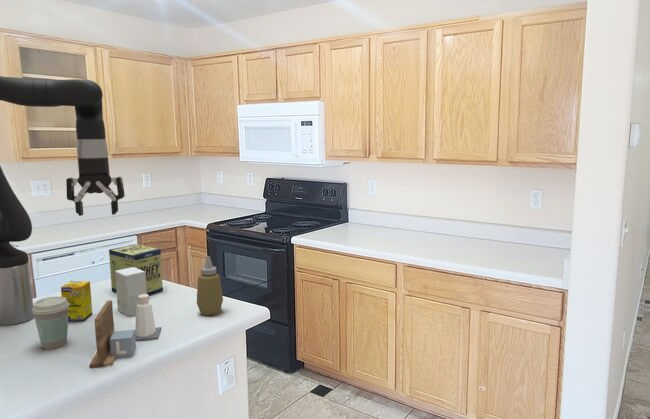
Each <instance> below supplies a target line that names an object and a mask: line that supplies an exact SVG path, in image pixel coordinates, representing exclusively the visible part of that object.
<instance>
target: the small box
mask: <svg viewBox="0 0 650 419" xmlns="http://www.w3.org/2000/svg"><path fill="white" fill-rule="evenodd" d="M115 278H116V292H117V293H116V304H117V311H119V312H121V313H122V314H124V315H126V316H128V317H132V316H136V307H137V305H138V304H139V301H138V296H139V295H141V294H147V290H146V275H145V271H142V270H140V269H137V268H135V267H131V268H126V269H121V270H116V271H115Z"/></svg>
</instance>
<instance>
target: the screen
mask: <svg viewBox="0 0 650 419" xmlns="http://www.w3.org/2000/svg"><path fill="white" fill-rule="evenodd" d="M113 310H114V309H113V300H111V299H110V300H106V301H105V303H104V304H103V306H102V308H101V309H100V310H99V312H98V313H97V314H96V317H95V318H94V319H93V320H94V334H95V344H96V346H95V347H96V352H95V354H94V356H93V358H92V359H91V361H90V363H89V368H90V369H91V368H103V367H112V366H113V365H114V362H115V360H116V359H117V358H116V356H115V355H111V348H110V338H111V336H112V335H113V333H114V331H115V325H114V324H115V323H114V311H113Z"/></svg>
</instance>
